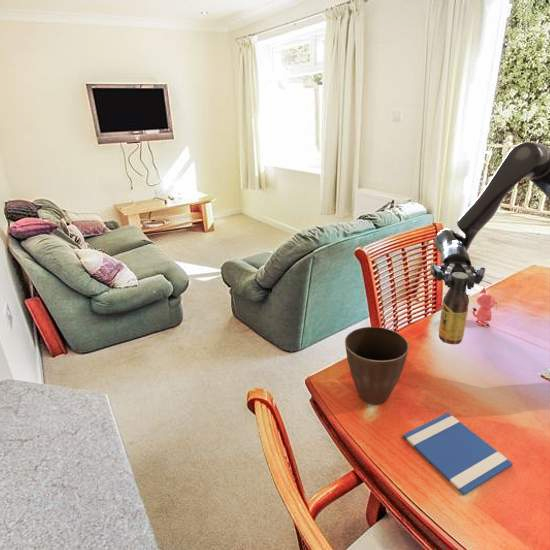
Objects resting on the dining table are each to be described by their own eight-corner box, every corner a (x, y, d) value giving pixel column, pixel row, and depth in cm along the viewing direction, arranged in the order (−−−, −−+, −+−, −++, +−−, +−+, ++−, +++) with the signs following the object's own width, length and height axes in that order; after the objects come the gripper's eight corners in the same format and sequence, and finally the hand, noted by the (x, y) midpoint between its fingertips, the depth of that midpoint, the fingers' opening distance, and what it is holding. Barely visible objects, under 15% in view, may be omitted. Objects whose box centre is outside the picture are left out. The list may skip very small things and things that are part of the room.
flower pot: (368, 424, 88) (371, 368, 81) (332, 387, 100) (333, 336, 94) (416, 402, 93) (422, 349, 87) (376, 370, 106) (380, 321, 100)
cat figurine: (496, 329, 122) (503, 296, 117) (473, 328, 123) (479, 295, 118) (488, 318, 128) (494, 286, 124) (467, 317, 130) (472, 286, 125)
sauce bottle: (437, 332, 107) (445, 268, 99) (461, 335, 105) (472, 270, 97) (437, 344, 102) (446, 277, 94) (463, 348, 99) (474, 280, 92)
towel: (447, 414, 89) (448, 412, 89) (512, 465, 76) (513, 462, 76) (402, 436, 84) (403, 434, 84) (463, 495, 71) (464, 493, 70)
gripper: (430, 247, 109) (430, 269, 95) (484, 250, 104) (494, 273, 90) (427, 270, 112) (427, 295, 98) (480, 274, 107) (489, 301, 93)
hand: (459, 284), depth 94 cm, fingers closed on sauce bottle, 4 cm apart
